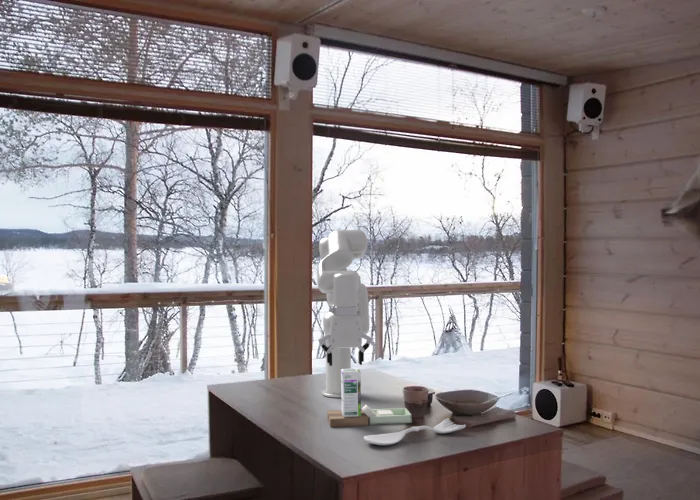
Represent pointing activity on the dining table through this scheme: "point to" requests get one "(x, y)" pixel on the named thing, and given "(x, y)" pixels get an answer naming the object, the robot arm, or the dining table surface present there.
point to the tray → (391, 417)
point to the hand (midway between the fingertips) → (345, 364)
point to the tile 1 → (368, 411)
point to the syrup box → (351, 392)
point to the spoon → (397, 436)
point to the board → (346, 419)
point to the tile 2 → (384, 413)
